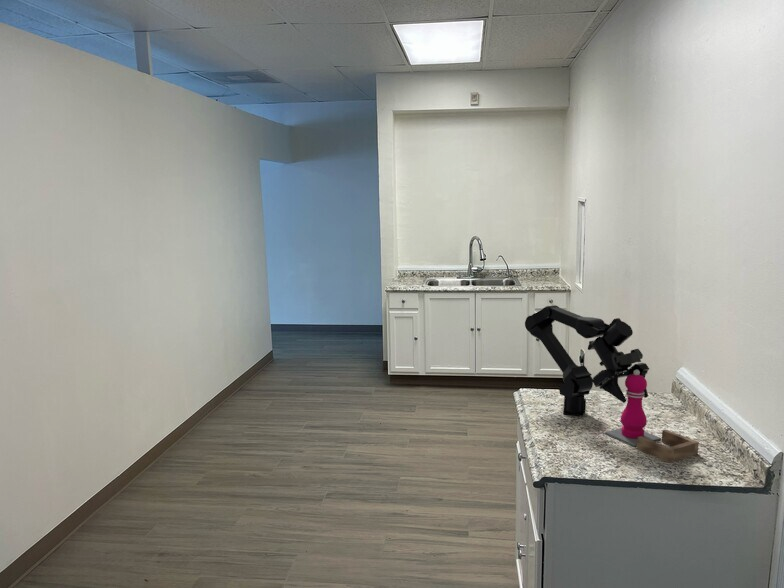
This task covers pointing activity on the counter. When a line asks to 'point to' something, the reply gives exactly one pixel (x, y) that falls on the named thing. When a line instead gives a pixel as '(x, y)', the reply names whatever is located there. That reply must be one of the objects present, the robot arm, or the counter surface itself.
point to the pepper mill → (634, 407)
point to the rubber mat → (630, 441)
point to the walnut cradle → (678, 451)
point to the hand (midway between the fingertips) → (636, 399)
